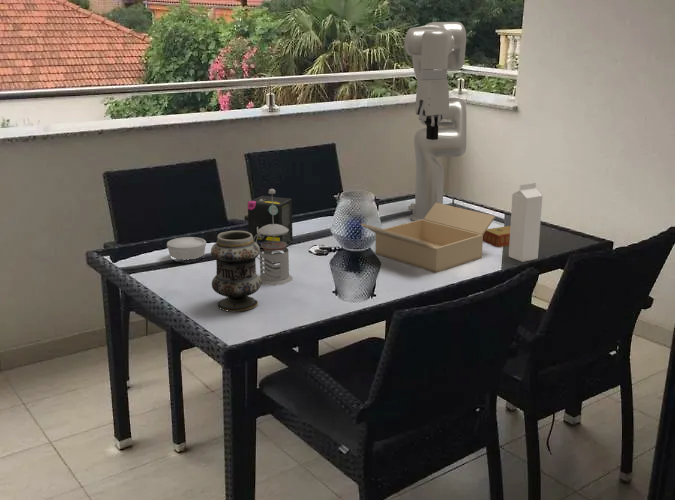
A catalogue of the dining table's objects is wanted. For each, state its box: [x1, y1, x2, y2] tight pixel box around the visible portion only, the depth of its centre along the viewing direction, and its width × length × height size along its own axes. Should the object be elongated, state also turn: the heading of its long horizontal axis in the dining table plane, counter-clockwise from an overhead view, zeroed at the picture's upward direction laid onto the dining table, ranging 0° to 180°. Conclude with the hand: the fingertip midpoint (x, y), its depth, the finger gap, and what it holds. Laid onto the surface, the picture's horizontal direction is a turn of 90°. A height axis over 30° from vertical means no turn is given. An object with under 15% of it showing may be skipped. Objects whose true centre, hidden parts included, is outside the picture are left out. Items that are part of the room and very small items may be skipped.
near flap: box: [360, 223, 435, 250], centre depth 212 cm, size 23×7×1 cm, turn 41°
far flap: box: [424, 203, 496, 235], centre depth 229 cm, size 23×7×1 cm
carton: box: [483, 225, 511, 248], centre depth 237 cm, size 8×16×4 cm, turn 117°
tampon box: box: [247, 195, 294, 246], centre depth 232 cm, size 11×9×15 cm
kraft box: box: [375, 219, 484, 274], centre depth 222 cm, size 24×20×7 cm
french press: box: [253, 188, 294, 286], centre depth 202 cm, size 10×12×25 cm
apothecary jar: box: [210, 230, 262, 312], centre depth 184 cm, size 12×12×18 cm
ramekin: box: [166, 236, 207, 260], centre depth 222 cm, size 11×11×5 cm
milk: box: [508, 182, 543, 263], centre depth 218 cm, size 6×6×22 cm
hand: (432, 139), depth 222 cm, fingers closed
